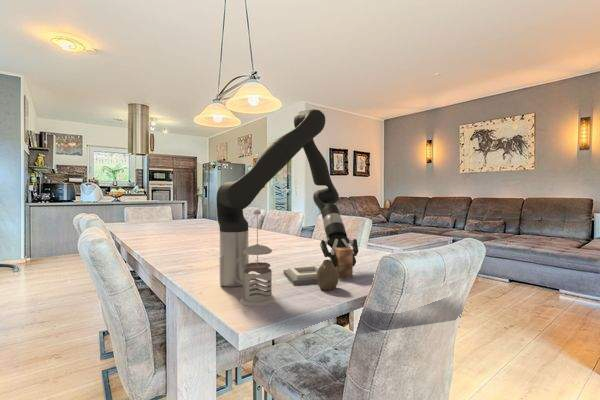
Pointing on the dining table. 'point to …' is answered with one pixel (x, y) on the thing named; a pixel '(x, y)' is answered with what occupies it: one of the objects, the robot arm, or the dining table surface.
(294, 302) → the dining table surface
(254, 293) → the french press
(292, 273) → the pocket board
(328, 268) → the vase
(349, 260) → the copper rectangular block
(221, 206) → the robot arm
